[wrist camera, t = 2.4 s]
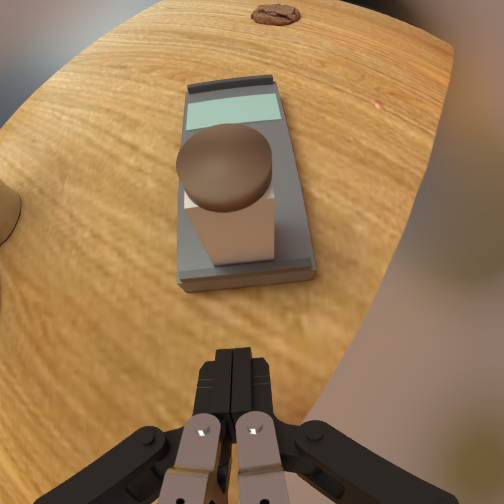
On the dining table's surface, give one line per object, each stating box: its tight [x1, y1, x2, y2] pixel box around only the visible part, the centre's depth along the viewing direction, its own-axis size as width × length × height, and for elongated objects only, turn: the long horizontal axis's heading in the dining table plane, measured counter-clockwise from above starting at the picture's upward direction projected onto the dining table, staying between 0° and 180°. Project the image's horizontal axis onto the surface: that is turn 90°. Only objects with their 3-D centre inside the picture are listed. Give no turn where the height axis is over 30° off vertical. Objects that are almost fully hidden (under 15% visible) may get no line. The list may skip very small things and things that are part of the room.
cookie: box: [251, 4, 300, 26], centre depth 48 cm, size 10×11×3 cm
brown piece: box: [176, 123, 275, 268], centre depth 21 cm, size 5×5×12 cm
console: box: [177, 75, 316, 292], centre depth 31 cm, size 26×12×4 cm, turn 5°
